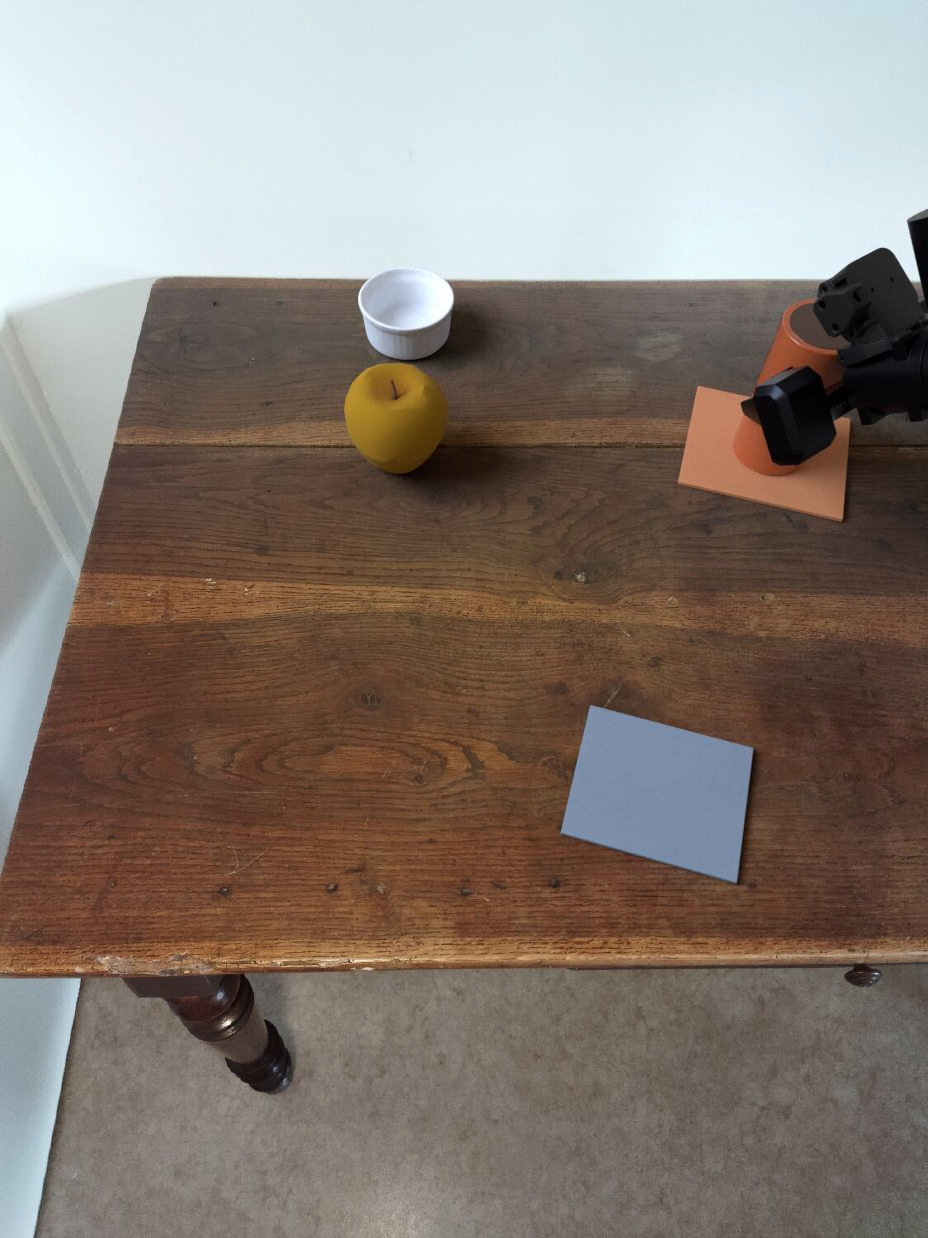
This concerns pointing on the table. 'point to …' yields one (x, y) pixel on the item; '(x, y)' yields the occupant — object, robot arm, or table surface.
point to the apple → (396, 416)
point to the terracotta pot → (791, 346)
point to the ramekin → (406, 312)
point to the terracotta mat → (723, 473)
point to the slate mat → (660, 793)
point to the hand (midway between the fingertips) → (778, 387)
